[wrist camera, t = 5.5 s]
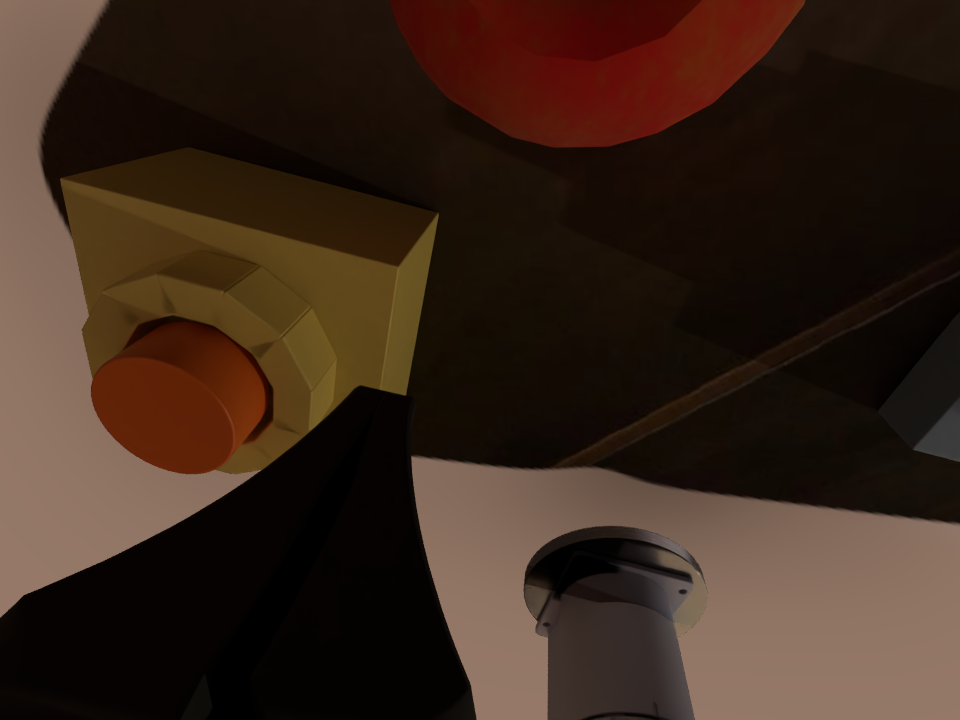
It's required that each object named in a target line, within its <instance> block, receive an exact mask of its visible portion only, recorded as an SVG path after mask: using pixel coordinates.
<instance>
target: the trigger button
mask: <svg viewBox="0 0 960 720" xmlns="http://www.w3.org/2000/svg"><path fill="white" fill-rule="evenodd" d="M91 397H92V402H93V406H94V409H95V411H96V413H97V415H98V417H99V419H100V421H101V422H102V424H103V425H104V427H105V428H106V429H107V431H108V432H109V433H110V434H111V435H112V436H113V438H115V440H116V441H118V442H119V443H120V444H121V445H122V446H123V447H124V448H126V449H127V450H128V451H130V452H131V453H132V454H134V455H135V456H137V457H139V458H140V459H142V460H144V461H146V462H148V463H150V464H152V465H154V466H157V467H159V468H162V469H165V470H168V471H172V472H177V473H183V474H201V473H206V472H210V471H213V470H215V469H218V468H219V467H221V466H222V465H224V464H225V463H226V462H227V461H228V460H229V459H230V458H231V456H232V455H233V454H234V453H235V452H236V450H237V449H238V448H239V447H240V445H241V444H242V443H243V442H244V440H245V439H246V438H247V437H248V435H249V434H250V433H251V432H252V430H253V429H254V428H255V427H256V425H257V424H258V423H259V422H260V421H261V419H262V418H263V417H264V415H265V413H266V411H267V409H268V405H269V387H268V382H267V380H266V377H265V374H264V372H263V371H262V369H261V367H260V366H259V364H258V362H257V361H256V359H255V358H254V357H253V356H252V355H251V353H250V352H249V351H248V350H246V349H245V348H244V347H242V346H241V345H240V344H238V343H237V342H236V341H234V340H233V339H232V338H230V337H229V336H227V335H226V334H225V333H223V332H222V331H220V330H218V329H215V328H213V327H211V326H207V325H204V324H201V323H196V322H187V321H180V322H171V323H167V324H164V325H161V326H159V327H157V328H156V329H154V330H153V331H151V332H150V333H148V334H147V335H145V336H144V337H142V338H141V339H139V340H138V341H136V342H135V343H133V344H132V345H131V346H129V347H128V348H126V349H125V350H123V351H122V352H120V353H119V354H117V355H116V356H114V357H113V358H111V359H110V360H108V361H107V362H106V363H104V364H103V365H102V366H101V367H100V368H99V369H98V371H97V372H96V374H95V376H94V378H93V381H92V385H91Z"/></svg>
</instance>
